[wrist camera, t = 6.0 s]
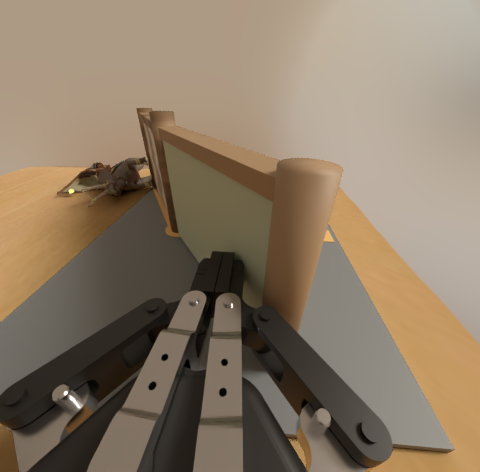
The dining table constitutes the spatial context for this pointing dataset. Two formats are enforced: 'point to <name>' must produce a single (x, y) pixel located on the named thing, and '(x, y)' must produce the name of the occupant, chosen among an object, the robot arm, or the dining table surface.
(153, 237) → the card
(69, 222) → the dining table surface
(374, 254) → the dining table surface
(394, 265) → the dining table surface
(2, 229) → the dining table surface
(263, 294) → the fence gate
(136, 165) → the figurine
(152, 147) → the post
